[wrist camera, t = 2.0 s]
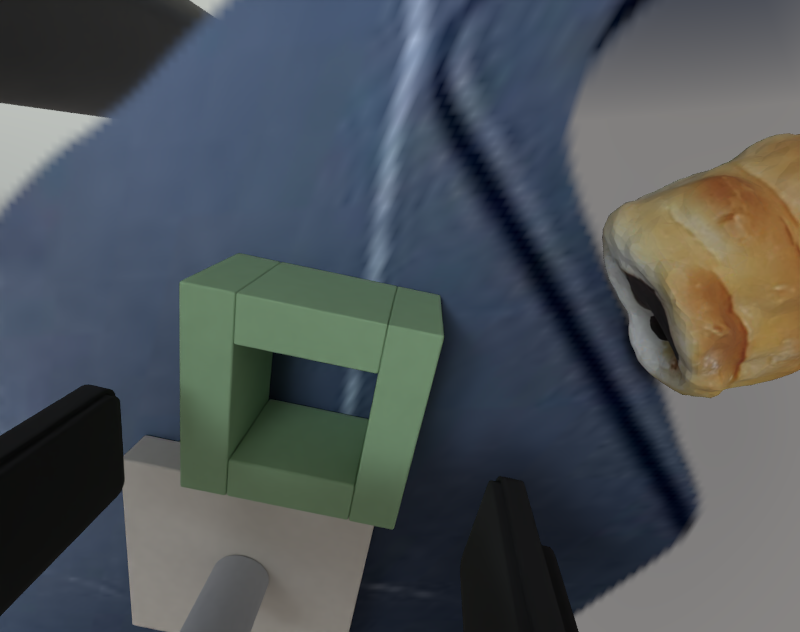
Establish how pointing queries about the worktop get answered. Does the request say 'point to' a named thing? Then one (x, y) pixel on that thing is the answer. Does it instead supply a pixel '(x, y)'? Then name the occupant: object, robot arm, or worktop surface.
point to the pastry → (714, 272)
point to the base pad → (232, 556)
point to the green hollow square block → (290, 423)
